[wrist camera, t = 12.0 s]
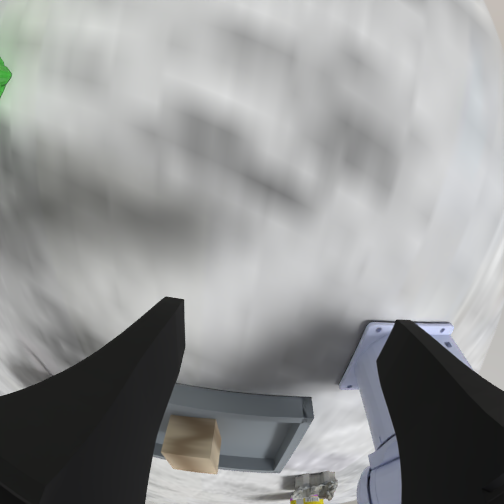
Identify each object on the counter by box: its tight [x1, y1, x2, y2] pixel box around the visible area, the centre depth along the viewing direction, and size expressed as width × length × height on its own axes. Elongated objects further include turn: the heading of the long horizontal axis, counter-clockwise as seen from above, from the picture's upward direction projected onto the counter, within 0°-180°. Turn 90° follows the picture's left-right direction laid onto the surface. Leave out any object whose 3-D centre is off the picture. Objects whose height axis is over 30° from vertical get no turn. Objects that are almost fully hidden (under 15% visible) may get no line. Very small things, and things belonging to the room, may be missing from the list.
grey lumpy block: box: [292, 471, 337, 501], centre depth 35 cm, size 11×8×4 cm
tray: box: [153, 383, 314, 473], centre depth 26 cm, size 20×16×2 cm
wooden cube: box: [161, 415, 221, 474], centre depth 24 cm, size 5×5×5 cm
